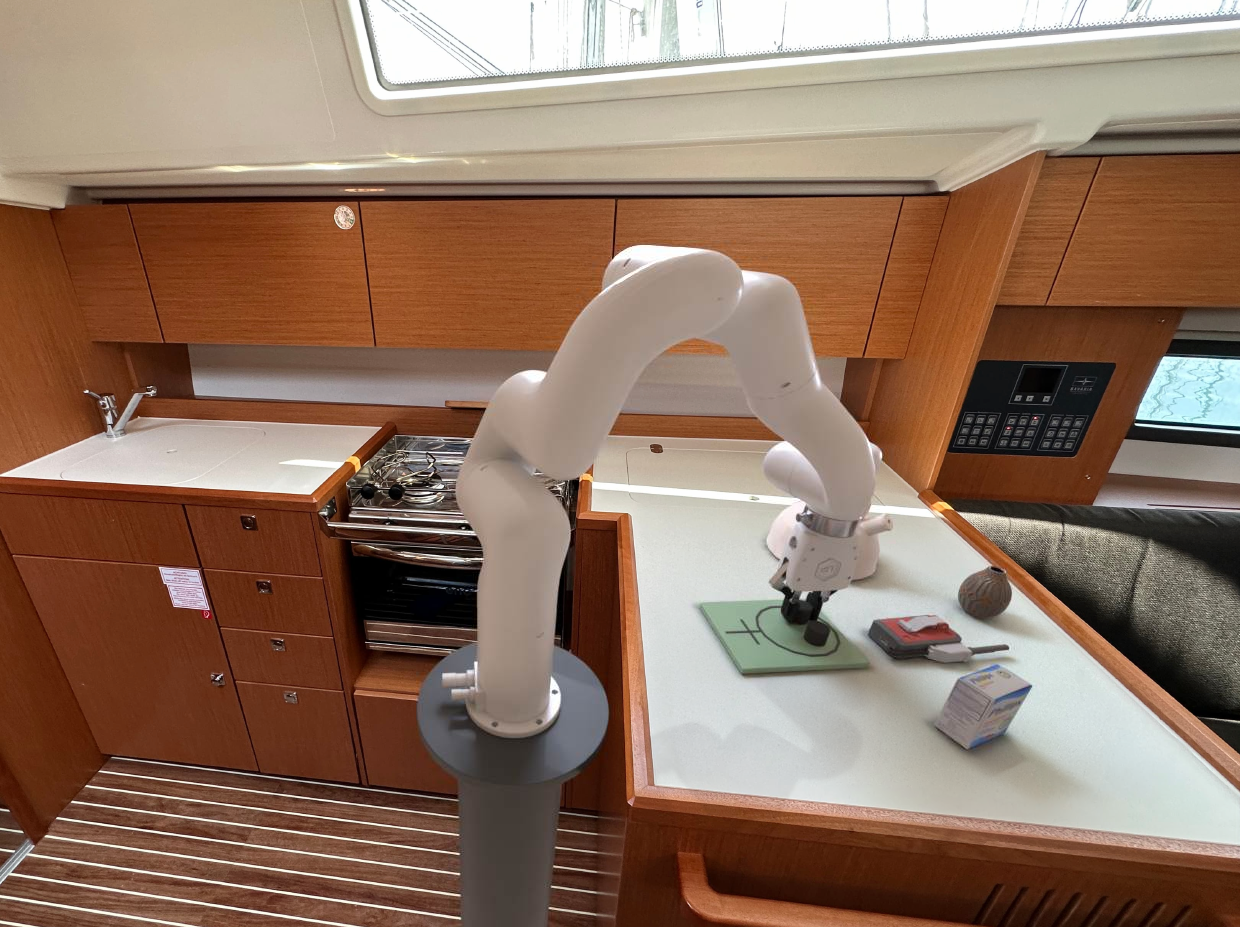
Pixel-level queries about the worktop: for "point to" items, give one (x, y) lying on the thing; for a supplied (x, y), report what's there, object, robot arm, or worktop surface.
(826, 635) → the eye dot
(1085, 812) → the worktop surface
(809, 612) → the eye dot
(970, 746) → the medicine box
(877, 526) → the kettle
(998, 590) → the vase
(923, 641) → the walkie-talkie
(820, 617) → the drawing board
